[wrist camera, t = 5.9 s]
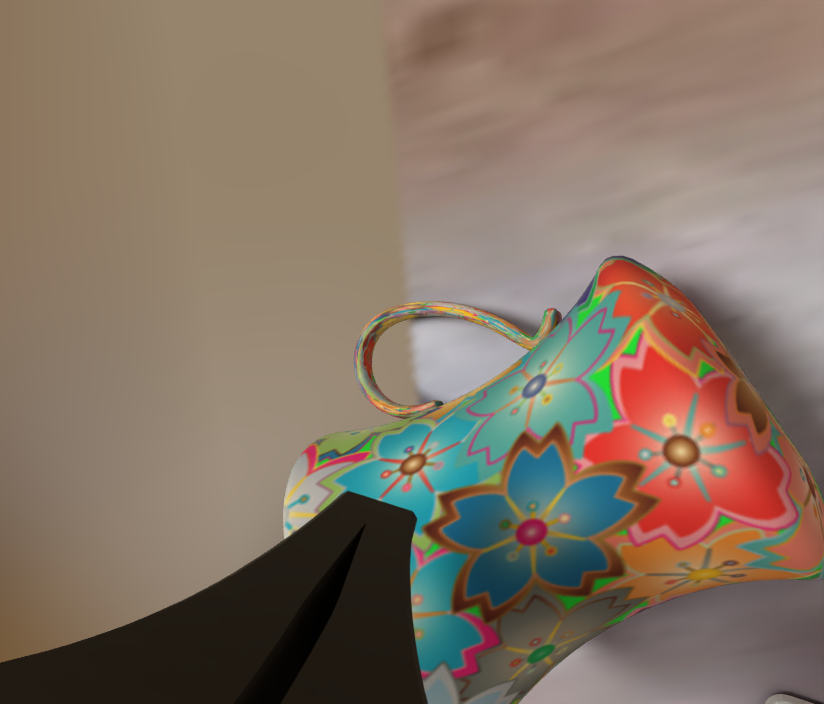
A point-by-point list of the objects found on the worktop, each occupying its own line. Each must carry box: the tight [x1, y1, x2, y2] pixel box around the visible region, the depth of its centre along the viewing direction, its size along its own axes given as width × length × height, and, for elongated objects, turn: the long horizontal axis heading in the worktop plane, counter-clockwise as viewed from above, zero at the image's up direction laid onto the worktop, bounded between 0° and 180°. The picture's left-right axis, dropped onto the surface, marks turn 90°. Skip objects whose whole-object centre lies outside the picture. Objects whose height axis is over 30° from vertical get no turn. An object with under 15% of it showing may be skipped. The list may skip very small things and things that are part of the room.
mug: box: [283, 256, 824, 704], centre depth 19 cm, size 12×9×11 cm
